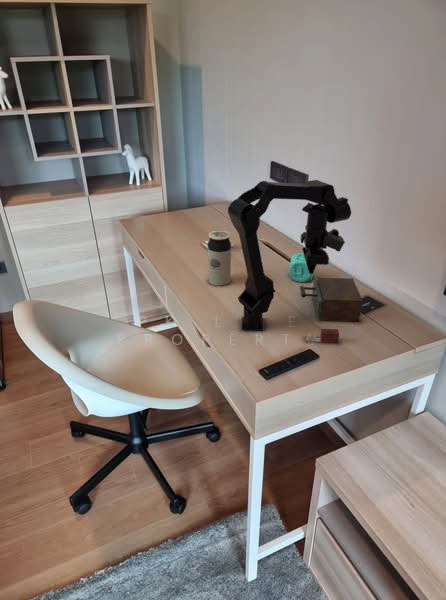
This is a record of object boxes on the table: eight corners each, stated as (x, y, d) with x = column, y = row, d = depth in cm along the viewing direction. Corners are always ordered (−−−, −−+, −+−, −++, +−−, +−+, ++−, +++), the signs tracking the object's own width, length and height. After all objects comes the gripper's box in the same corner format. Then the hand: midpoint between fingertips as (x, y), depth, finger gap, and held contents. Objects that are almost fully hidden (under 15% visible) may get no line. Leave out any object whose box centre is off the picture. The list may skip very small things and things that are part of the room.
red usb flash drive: (336, 338, 124) (338, 329, 123) (337, 343, 122) (339, 333, 121) (306, 337, 125) (307, 328, 123) (306, 342, 123) (308, 332, 121)
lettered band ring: (243, 251, 175) (237, 239, 171) (223, 265, 174) (217, 253, 170) (223, 236, 189) (216, 225, 185) (204, 249, 187) (198, 238, 183)
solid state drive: (384, 306, 141) (384, 304, 141) (363, 314, 136) (364, 313, 136) (367, 297, 146) (368, 295, 146) (347, 305, 141) (347, 303, 141)
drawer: (301, 316, 133) (302, 300, 130) (297, 295, 145) (298, 279, 142) (351, 318, 132) (354, 301, 129) (343, 296, 144) (345, 281, 141)
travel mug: (218, 274, 160) (217, 228, 151) (234, 280, 156) (235, 233, 147) (204, 281, 155) (203, 235, 146) (220, 288, 151) (220, 240, 141)
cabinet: (320, 320, 133) (323, 299, 129) (314, 297, 145) (317, 277, 142) (358, 321, 132) (362, 300, 128) (349, 298, 145) (352, 278, 141)
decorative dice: (313, 274, 160) (316, 254, 156) (310, 283, 154) (312, 263, 150) (292, 271, 163) (294, 251, 159) (288, 280, 156) (289, 260, 152)
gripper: (350, 237, 117) (342, 288, 124) (338, 215, 133) (332, 261, 140) (309, 236, 117) (304, 287, 125) (302, 214, 133) (298, 260, 141)
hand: (310, 273), depth 133 cm, fingers closed
